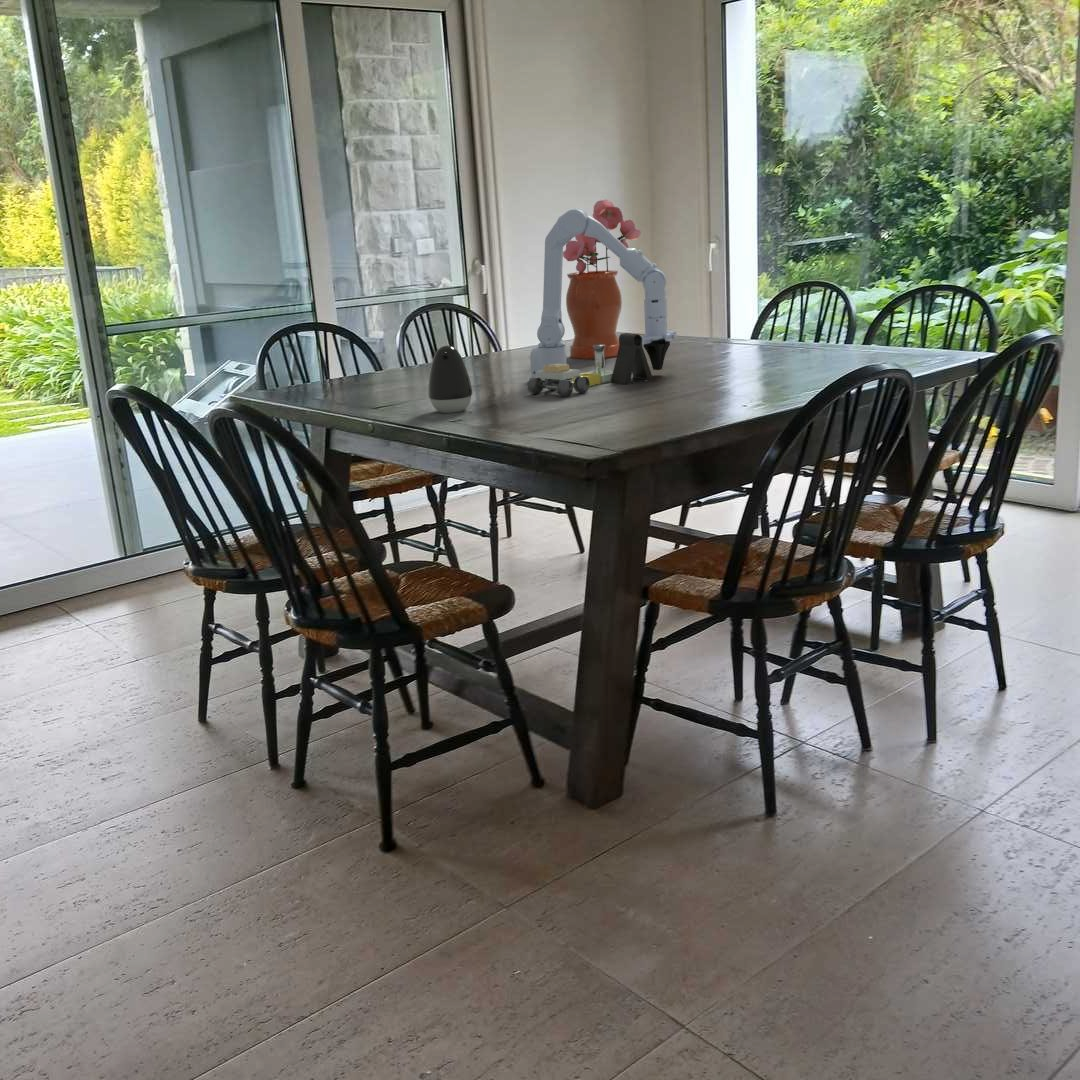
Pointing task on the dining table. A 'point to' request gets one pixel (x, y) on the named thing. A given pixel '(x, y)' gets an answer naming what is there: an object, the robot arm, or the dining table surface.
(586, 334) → the potted flower
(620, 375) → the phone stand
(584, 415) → the dining table surface
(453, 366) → the egg shaped device
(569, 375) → the toy rover
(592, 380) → the pin socket
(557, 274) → the robot arm
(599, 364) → the stop pin
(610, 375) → the tray
